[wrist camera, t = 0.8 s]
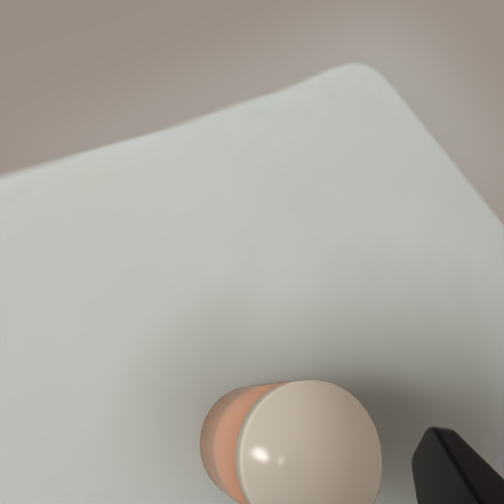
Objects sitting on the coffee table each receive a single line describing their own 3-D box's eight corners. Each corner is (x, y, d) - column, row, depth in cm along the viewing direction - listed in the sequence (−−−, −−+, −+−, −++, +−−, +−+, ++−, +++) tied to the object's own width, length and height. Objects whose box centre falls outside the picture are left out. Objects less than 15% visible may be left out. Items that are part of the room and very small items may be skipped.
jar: (297, 500, 24) (384, 544, 16) (194, 498, 22) (238, 545, 15) (300, 390, 26) (380, 385, 18) (205, 382, 24) (249, 373, 17)
